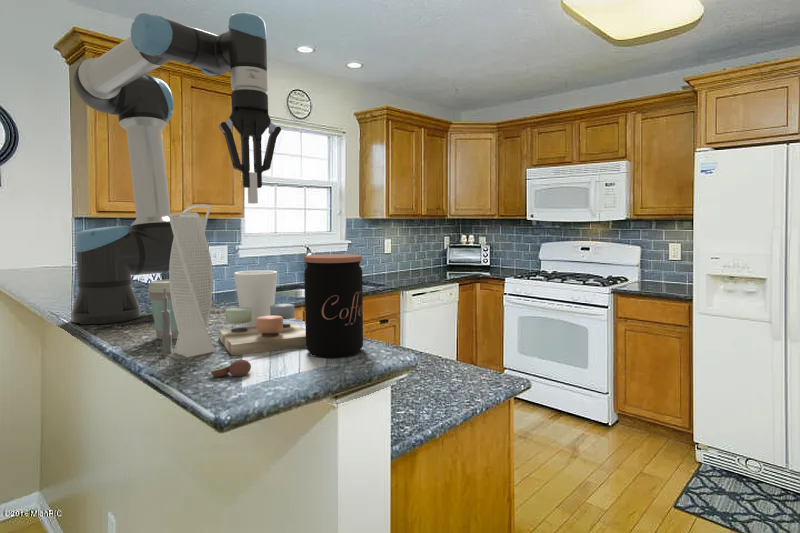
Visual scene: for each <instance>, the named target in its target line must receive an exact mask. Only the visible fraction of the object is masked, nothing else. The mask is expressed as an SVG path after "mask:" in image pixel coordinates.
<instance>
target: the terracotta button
mask: <svg viewBox="0 0 800 533" xmlns="http://www.w3.org/2000/svg"><path fill="white" fill-rule="evenodd" d="M283 323H284V320H283V317H282V316H262V317H258V318H257V332H259V333H276V332H280V331H283Z"/></svg>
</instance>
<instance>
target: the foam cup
mask: <svg viewBox="0 0 800 533" xmlns="http://www.w3.org/2000/svg"><path fill="white" fill-rule="evenodd" d="M233 274H234V285H235V288H236V294H237V299H238V301H237V302H238V307H247V308H251V313H252V321H251V322H248V323H242V327H251V326H257V318H258V317H262V316H270V306H271V305H275V303H276V302H275V301H276V293H277V292H276V291H277V283H278V271H277V270H276V271H275V270H267V269H266V270H265V269H264V270H263V269H260V270H259V269H258V270H241V271H236V272H234V273H233Z"/></svg>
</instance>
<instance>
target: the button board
mask: <svg viewBox="0 0 800 533" xmlns="http://www.w3.org/2000/svg"><path fill="white" fill-rule="evenodd" d="M218 339H219V341H221V343H222V344H223V346H224V347H225V349H226V350H227V351H228V352H229V353H230V355H231V356H238V355H248V354H254V353H263V352H271V351H279V349H281V350H287V349H295V348H304V347H305V348H306V327H303V326H301V325H299V324H298V323H296V322H292V321H291V322H283V331H280V332H276V333H259V332H257V326H251V327H243V326H242V327H234V328H223V329H218Z"/></svg>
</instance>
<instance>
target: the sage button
mask: <svg viewBox="0 0 800 533" xmlns="http://www.w3.org/2000/svg"><path fill="white" fill-rule="evenodd" d="M225 321H226V322H225V323H226V324H230V325H231V324H232V325H234V324H235V325H236V324H237V325H239V324H240V325H241V324H242V323H248V322H251V321H252V313H251V308H247V307H239V306H238V307H231V308H227V309H225Z"/></svg>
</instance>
